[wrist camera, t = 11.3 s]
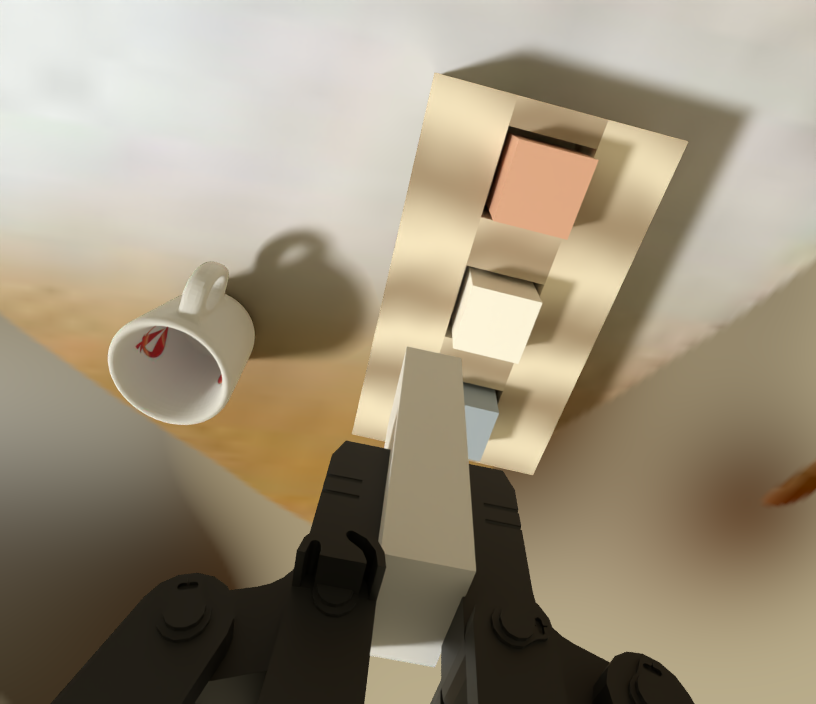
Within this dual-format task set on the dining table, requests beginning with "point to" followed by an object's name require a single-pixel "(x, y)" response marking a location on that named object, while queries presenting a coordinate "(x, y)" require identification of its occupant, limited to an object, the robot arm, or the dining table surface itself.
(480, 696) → the robot arm
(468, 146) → the console
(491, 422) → the key slate
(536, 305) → the key cream
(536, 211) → the key terracotta
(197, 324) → the cup
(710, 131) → the dining table surface
